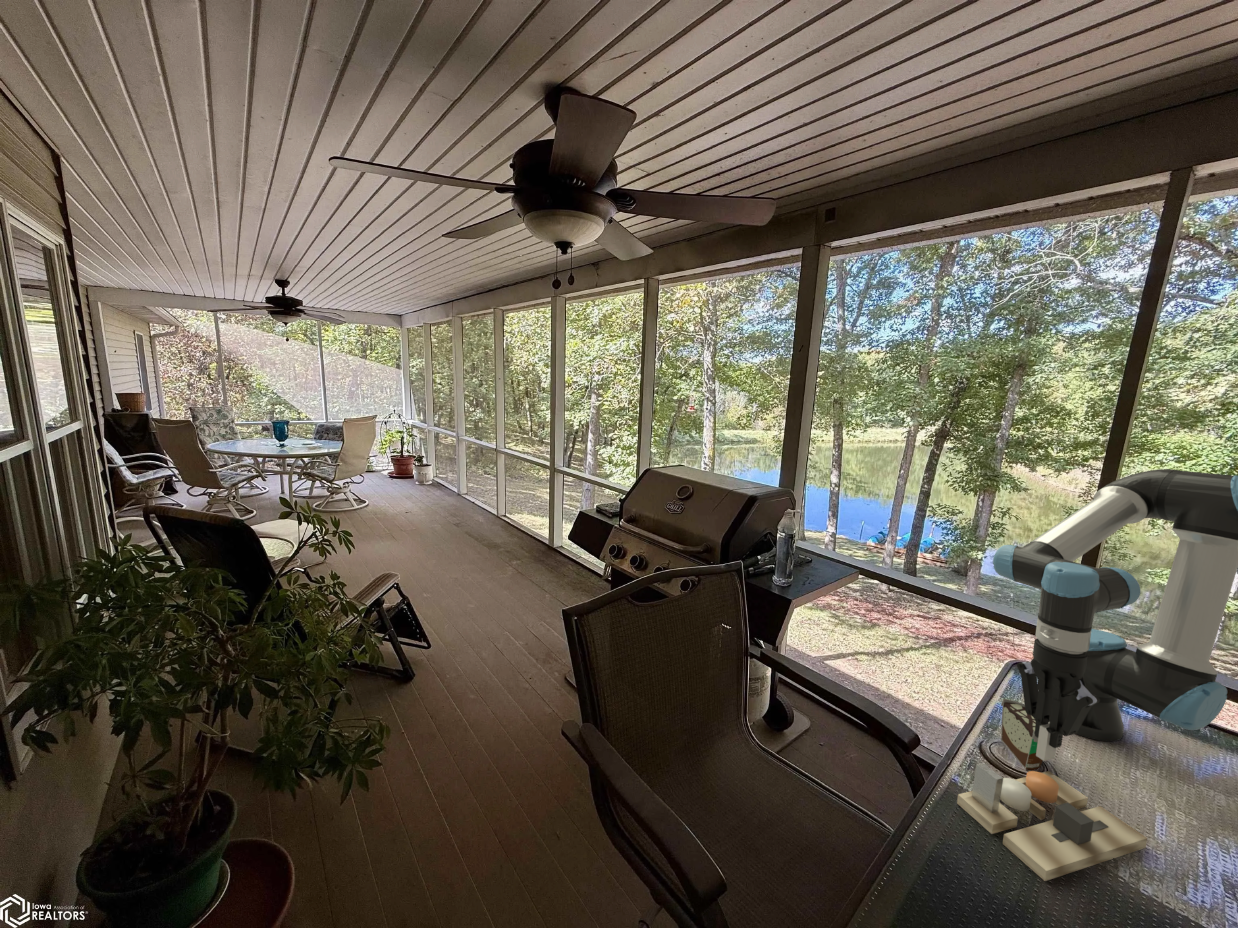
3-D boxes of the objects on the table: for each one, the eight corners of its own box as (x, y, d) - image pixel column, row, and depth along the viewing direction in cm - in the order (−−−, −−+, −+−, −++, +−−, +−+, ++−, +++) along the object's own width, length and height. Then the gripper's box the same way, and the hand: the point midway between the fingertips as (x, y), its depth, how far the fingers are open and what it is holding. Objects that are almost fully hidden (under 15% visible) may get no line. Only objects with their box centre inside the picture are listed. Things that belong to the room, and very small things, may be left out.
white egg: (1010, 788, 97) (1012, 775, 96) (1036, 807, 92) (1038, 794, 92) (991, 792, 96) (993, 780, 95) (1017, 813, 91) (1018, 799, 91)
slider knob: (1064, 821, 89) (1067, 802, 89) (1090, 840, 85) (1093, 820, 85) (1052, 825, 88) (1055, 805, 88) (1078, 844, 85) (1081, 824, 84)
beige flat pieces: (1047, 779, 102) (1048, 770, 101) (1145, 847, 86) (1147, 837, 86) (957, 803, 96) (958, 793, 96) (1044, 880, 80) (1046, 870, 80)
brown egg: (1036, 781, 98) (1038, 768, 98) (1063, 800, 94) (1065, 787, 93) (1018, 785, 97) (1020, 773, 97) (1044, 805, 93) (1046, 792, 92)
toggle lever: (977, 794, 96) (982, 762, 95) (997, 811, 92) (1003, 778, 91) (971, 795, 95) (976, 763, 94) (991, 812, 91) (996, 779, 90)
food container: (1063, 779, 102) (1069, 736, 100) (1029, 775, 103) (1035, 732, 101) (1026, 739, 114) (1031, 700, 112) (997, 735, 115) (1001, 697, 113)
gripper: (1010, 630, 96) (997, 737, 100) (1086, 665, 84) (1068, 786, 87) (1038, 626, 98) (1024, 731, 102) (1117, 660, 86) (1098, 778, 89)
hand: (1045, 756), depth 94 cm, fingers closed
